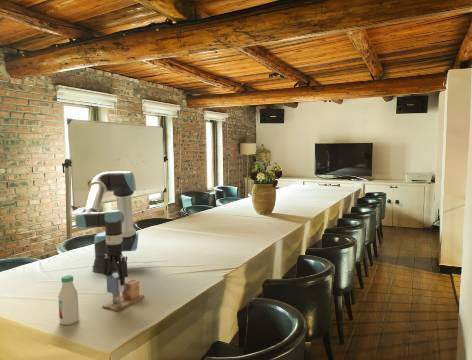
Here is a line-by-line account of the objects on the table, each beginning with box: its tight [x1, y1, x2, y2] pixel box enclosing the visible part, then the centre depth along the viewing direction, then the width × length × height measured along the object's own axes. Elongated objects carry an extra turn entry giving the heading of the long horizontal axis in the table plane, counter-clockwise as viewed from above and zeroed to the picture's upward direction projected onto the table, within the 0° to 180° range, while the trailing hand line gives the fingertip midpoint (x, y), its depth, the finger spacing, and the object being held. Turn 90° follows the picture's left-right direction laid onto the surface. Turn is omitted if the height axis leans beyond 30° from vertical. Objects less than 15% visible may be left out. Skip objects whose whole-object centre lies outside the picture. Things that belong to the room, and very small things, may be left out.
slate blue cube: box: [105, 272, 126, 295], centre depth 169 cm, size 6×6×8 cm
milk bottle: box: [58, 274, 80, 326], centre depth 155 cm, size 8×8×20 cm
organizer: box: [102, 278, 145, 313], centre depth 174 cm, size 10×18×9 cm, turn 155°
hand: (116, 290), depth 169 cm, fingers closed on slate blue cube, 6 cm apart
